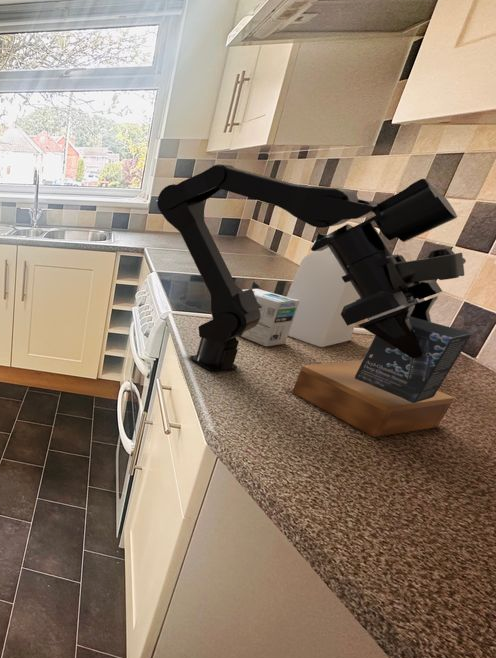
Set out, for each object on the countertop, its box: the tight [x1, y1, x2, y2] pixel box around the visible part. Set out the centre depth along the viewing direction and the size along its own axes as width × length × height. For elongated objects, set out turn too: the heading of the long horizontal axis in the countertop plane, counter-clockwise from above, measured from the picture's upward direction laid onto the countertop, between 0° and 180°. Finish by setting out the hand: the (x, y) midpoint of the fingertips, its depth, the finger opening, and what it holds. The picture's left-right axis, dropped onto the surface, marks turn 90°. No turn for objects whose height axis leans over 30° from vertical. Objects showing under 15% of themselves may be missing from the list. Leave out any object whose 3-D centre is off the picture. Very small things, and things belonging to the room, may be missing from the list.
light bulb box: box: [240, 288, 300, 347], centre depth 99 cm, size 11×7×11 cm, turn 22°
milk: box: [285, 247, 360, 348], centre depth 99 cm, size 12×12×26 cm
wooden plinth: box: [291, 359, 455, 438], centre depth 70 cm, size 14×14×6 cm
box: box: [355, 316, 472, 403], centre depth 62 cm, size 8×6×11 cm
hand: (425, 353), depth 60 cm, fingers closed on box, 6 cm apart
